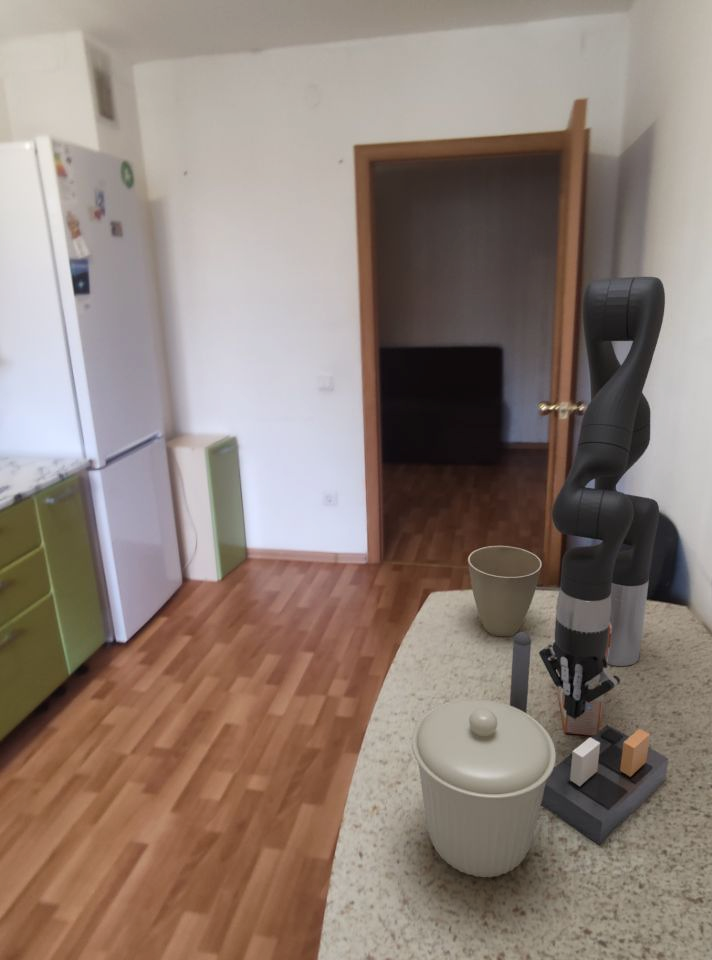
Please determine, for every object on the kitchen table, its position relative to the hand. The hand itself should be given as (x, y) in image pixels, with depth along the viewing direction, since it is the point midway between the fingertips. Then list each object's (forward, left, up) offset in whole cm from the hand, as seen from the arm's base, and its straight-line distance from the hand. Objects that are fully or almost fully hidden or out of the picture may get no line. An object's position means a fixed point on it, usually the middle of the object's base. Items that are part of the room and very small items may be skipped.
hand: (573, 714), depth 103 cm
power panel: (+3, +8, -7) cm, 11 cm away
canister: (+24, +2, -8) cm, 25 cm away
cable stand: (+11, -2, -7) cm, 14 cm away
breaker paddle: (0, +10, -3) cm, 11 cm away
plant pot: (-22, -31, -8) cm, 39 cm away
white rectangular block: (+7, +7, -3) cm, 10 cm away
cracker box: (-10, -5, -8) cm, 14 cm away
